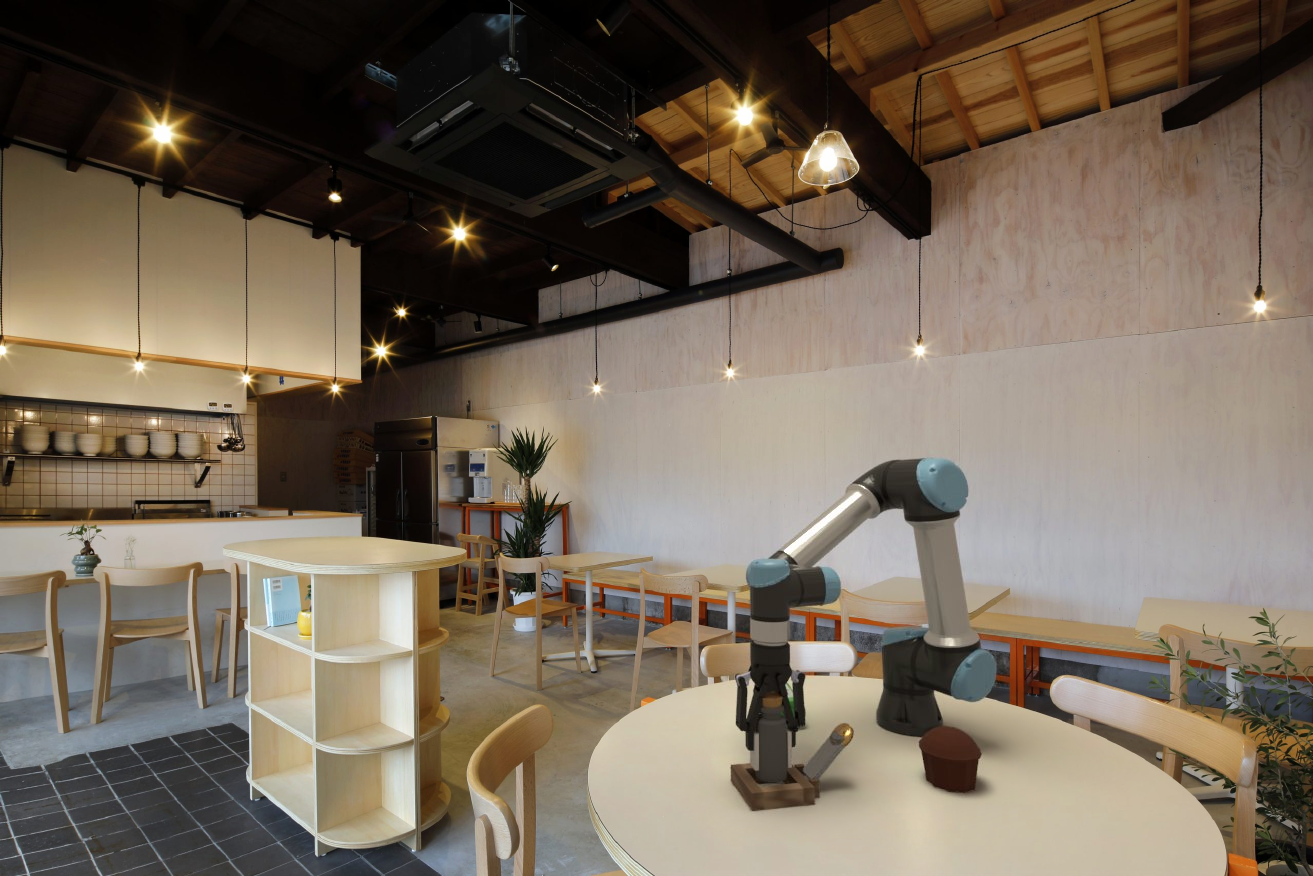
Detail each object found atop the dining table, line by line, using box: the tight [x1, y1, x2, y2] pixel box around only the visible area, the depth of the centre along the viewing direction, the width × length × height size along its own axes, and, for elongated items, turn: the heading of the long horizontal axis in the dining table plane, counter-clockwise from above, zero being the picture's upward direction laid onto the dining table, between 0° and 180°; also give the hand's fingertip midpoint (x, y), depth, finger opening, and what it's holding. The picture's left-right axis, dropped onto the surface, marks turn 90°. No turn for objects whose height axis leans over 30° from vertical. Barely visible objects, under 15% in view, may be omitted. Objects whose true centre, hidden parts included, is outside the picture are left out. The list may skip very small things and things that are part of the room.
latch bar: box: [800, 722, 855, 781], centre depth 124 cm, size 14×5×1 cm
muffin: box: [918, 725, 983, 794], centre depth 126 cm, size 12×11×10 cm
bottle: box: [755, 691, 787, 784], centre depth 122 cm, size 6×6×15 cm
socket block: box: [730, 762, 820, 812], centre depth 122 cm, size 14×12×3 cm
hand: (770, 765), depth 122 cm, fingers closed on bottle, 6 cm apart
